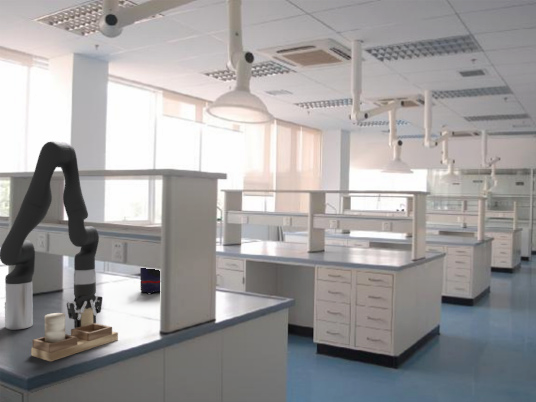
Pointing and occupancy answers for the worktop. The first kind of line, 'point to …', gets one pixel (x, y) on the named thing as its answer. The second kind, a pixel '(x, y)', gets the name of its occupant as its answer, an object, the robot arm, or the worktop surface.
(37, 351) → the wooden double holder
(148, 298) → the worktop surface
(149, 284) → the navy upright block
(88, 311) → the candle
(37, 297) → the worktop surface
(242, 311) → the worktop surface
